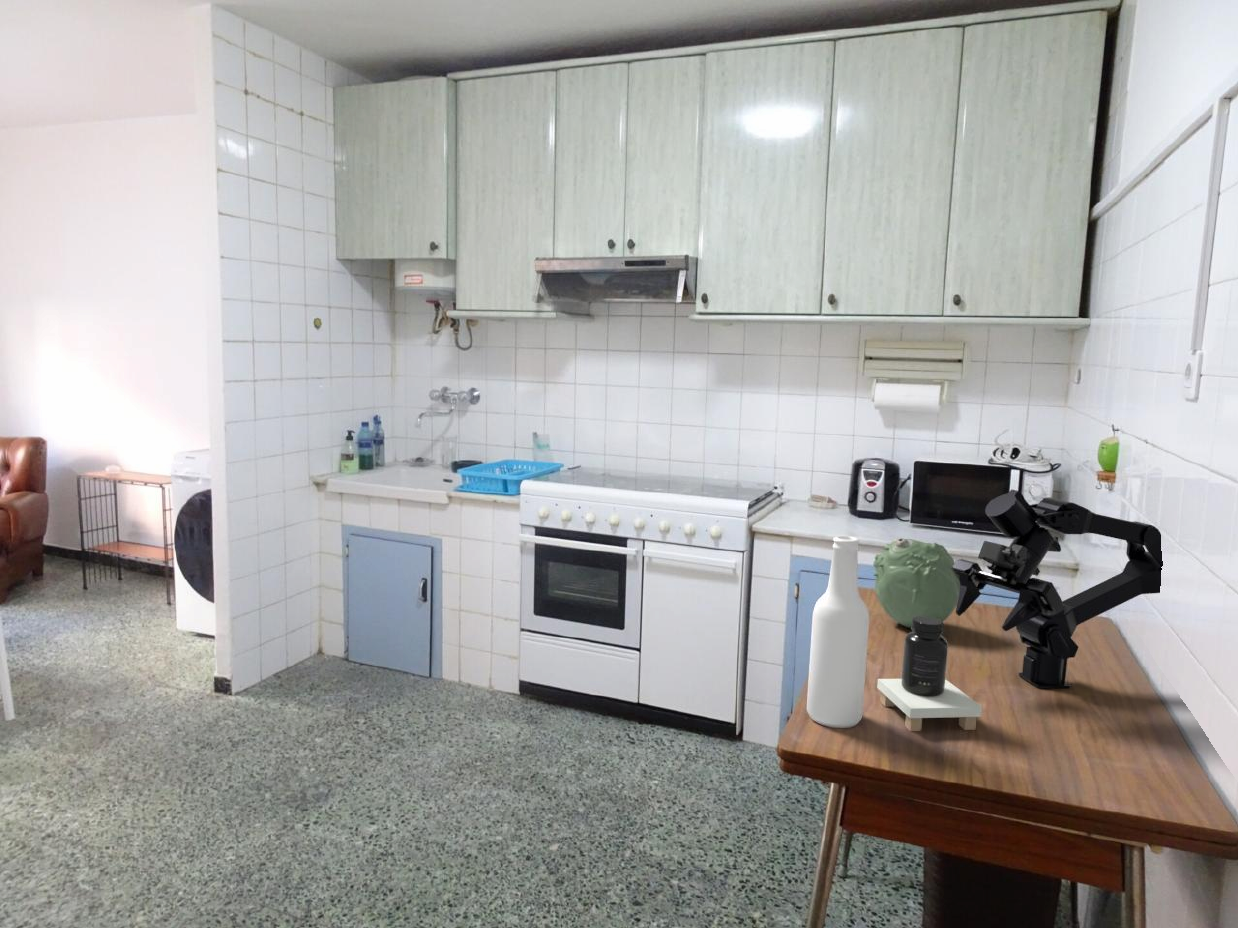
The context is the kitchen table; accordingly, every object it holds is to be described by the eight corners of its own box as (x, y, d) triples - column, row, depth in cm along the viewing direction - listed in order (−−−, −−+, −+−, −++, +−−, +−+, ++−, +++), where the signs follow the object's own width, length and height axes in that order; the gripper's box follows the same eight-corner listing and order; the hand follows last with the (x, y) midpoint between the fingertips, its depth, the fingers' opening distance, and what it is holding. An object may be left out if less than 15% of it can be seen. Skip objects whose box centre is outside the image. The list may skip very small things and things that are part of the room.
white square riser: (941, 699, 142) (943, 677, 142) (979, 730, 131) (982, 706, 130) (876, 701, 141) (877, 678, 140) (908, 732, 129) (910, 708, 129)
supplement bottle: (899, 678, 141) (905, 611, 139) (942, 684, 139) (948, 616, 137) (901, 693, 134) (907, 623, 133) (945, 700, 132) (952, 628, 131)
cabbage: (958, 644, 172) (966, 551, 169) (865, 630, 179) (871, 540, 177) (958, 623, 186) (966, 537, 184) (872, 611, 193) (878, 528, 191)
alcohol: (840, 703, 139) (852, 531, 136) (873, 725, 131) (887, 542, 127) (795, 709, 136) (807, 533, 133) (826, 732, 128) (839, 545, 124)
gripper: (962, 516, 152) (916, 580, 147) (1059, 536, 136) (1011, 608, 131) (985, 553, 157) (942, 616, 152) (1081, 577, 141) (1036, 648, 136)
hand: (980, 621), depth 143 cm, fingers open, 9 cm apart
